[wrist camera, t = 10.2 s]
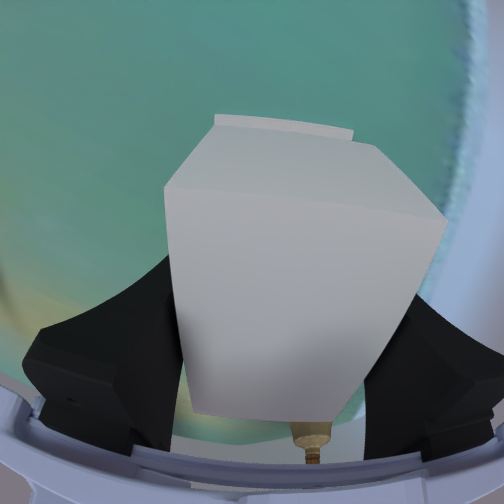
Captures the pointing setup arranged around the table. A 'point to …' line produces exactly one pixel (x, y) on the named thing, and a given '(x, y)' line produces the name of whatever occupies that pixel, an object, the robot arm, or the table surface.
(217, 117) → the light gray square block
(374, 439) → the robot arm
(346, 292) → the off-white rectangular block
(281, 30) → the table surface
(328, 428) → the hand bell
